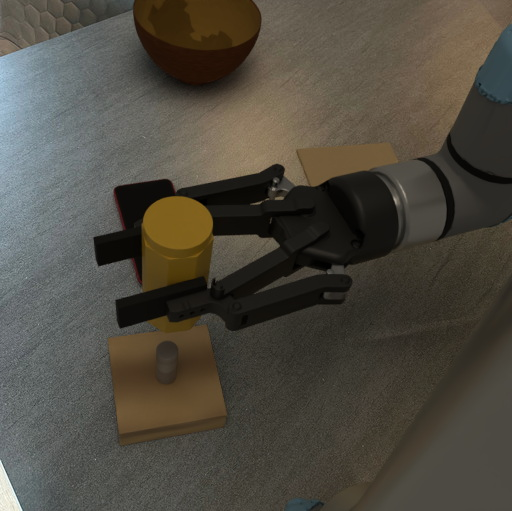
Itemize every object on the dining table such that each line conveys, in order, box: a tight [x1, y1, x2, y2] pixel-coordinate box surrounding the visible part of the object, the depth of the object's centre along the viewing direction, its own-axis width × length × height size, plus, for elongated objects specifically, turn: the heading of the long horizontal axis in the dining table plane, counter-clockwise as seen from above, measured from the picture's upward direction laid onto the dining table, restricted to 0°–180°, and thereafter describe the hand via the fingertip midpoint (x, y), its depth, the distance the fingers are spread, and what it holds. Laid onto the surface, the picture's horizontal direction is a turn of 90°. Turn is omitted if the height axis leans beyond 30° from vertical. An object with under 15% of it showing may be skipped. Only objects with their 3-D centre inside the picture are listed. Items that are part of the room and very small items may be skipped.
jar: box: [141, 196, 215, 333], centre depth 48 cm, size 5×5×11 cm
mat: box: [295, 142, 400, 186], centre depth 84 cm, size 14×14×1 cm
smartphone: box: [112, 178, 177, 285], centre depth 74 cm, size 7×1×15 cm
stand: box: [107, 323, 228, 447], centre depth 59 cm, size 10×10×8 cm
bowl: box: [132, 0, 263, 86], centre depth 90 cm, size 18×18×10 cm
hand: (106, 282), depth 45 cm, fingers closed on jar, 5 cm apart
